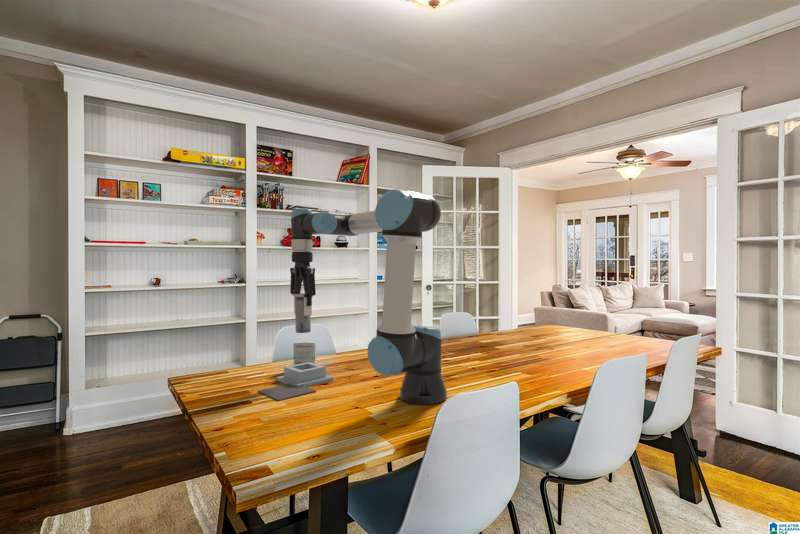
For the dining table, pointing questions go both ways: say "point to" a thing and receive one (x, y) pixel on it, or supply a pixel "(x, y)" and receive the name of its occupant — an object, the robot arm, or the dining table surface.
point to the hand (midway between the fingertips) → (302, 314)
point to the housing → (304, 375)
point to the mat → (286, 391)
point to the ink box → (304, 352)
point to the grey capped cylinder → (301, 315)
